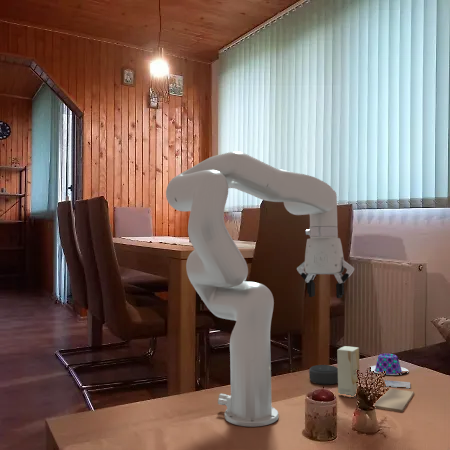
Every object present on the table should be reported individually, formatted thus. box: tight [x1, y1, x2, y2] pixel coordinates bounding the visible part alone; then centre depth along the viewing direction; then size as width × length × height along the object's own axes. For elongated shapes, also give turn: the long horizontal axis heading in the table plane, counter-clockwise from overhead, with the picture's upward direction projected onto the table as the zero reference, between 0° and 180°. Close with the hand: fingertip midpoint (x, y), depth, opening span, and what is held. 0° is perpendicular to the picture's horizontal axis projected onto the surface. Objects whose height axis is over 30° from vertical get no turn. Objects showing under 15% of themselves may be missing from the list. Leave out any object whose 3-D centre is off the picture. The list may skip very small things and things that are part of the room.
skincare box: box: [336, 345, 361, 396], centre depth 127 cm, size 6×4×12 cm
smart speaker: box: [308, 364, 338, 386], centre depth 140 cm, size 9×9×4 cm
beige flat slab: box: [355, 387, 415, 413], centre depth 122 cm, size 11×16×1 cm
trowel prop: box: [373, 376, 411, 389], centre depth 136 cm, size 16×5×2 cm, turn 69°
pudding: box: [370, 353, 409, 376], centre depth 150 cm, size 12×12×5 cm
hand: (325, 296), depth 131 cm, fingers open, 7 cm apart
